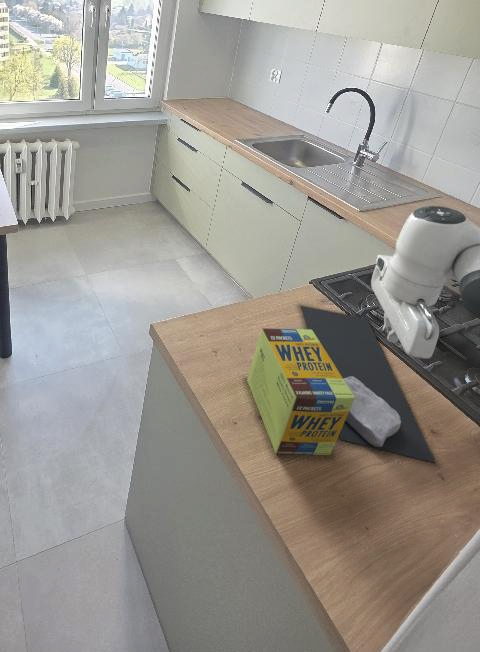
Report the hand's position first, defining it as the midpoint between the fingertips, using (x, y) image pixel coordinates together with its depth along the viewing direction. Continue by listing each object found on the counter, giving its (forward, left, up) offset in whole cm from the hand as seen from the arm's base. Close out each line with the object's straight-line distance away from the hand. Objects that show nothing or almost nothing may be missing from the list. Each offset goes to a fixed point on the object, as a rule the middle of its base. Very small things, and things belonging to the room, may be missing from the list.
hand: (389, 336), depth 86 cm
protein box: (+20, +14, -13) cm, 27 cm away
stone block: (+5, +9, -13) cm, 16 cm away
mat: (+2, -2, -13) cm, 13 cm away
